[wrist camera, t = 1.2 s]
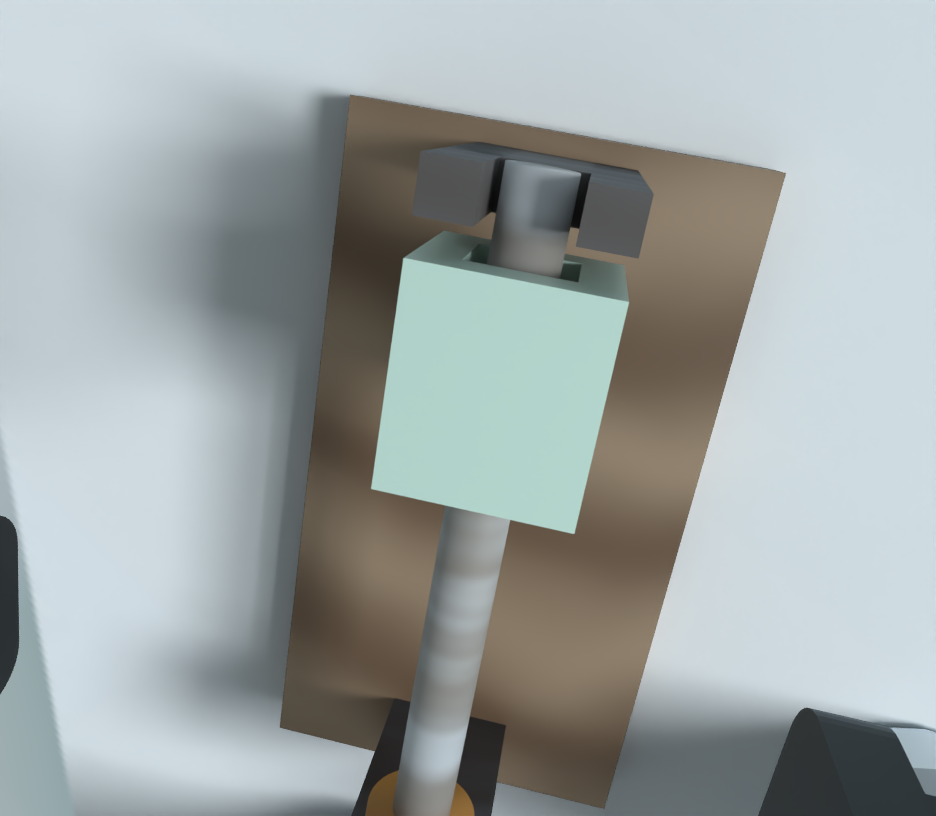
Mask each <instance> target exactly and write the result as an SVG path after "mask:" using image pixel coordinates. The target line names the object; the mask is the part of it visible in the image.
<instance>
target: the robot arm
mask: <svg viewBox="0 0 936 816" xmlns="http://www.w3.org/2000/svg"><path fill="white" fill-rule="evenodd" d="M18 606H19V605H18V541H17V533H16V529H15V527H14V525H13V523H12V522H11V521H10V520H9V519H7V518H6V517H3V516H0V694H1V692H2V691H3V689H4V687H5V686H6V684H7V682H8V680H9V678H10V676H11V673H12V671H13V668H14V666H15V662H16V658H17V655H18V648H19V611H18V610H19V607H18ZM758 816H936V796H933V795H928V794H925V792H924V790H923V788H922V786H921V784H920V782H919V780H918V778H917V776H916V774H915V771H914V769H913V767H912V765H911V763H910V761H909V759H908V757H907V755H906V753H905V751H904V749H903V746H902V744H901V742H900V740H899V738H898V737H897V735H896V733H895V732H894V731H893V730H892V729H891V728H889V727H887V726H883V725H878V724H874V723H870V722H866V721H861V720H857V719H853V718H849V717H844V716H840V715H836V714H832V713H827V712H823V711H819V710H815V709H810V708H804V709H802V710H801V711H800V712H799V713H798V714H797V716H796V717H795V719H794V721H793V723H792V725H791V728H790V730H789V733H788V736H787V739H786V741H785V744H784V747H783V749H782V752H781V755H780V758H779V760H778V763H777V766H776V769H775V771H774V774H773V777H772V780H771V782H770V785H769V788H768V790H767V793H766V796H765V799H764V801H763V804H762V807H761V810H760V812H759V815H758Z"/></svg>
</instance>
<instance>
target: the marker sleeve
mask: <svg viewBox="0 0 936 816" xmlns="http://www.w3.org/2000/svg"><path fill="white" fill-rule="evenodd" d="M490 245H491V239H486V238H480V237H475V236H470V235H465V234H460V233H454V232H449V231H443V232H441V233H440V234H438V235H437V236H435V237H434V238H432V239H431V240H429V241H428V242H426V243H425V244H423V245H422V246H420V247H419V248H417V249H416V250H414V251H413V252H411V253H410V254H409V255H407V256H406V257H404V258H403V265H402V272H401V279H400V286H399V294H398V301H397V308H396V315H395V322H394V329H393V336H392V343H391V351H390V358H389V365H388V372H387V379H386V386H385V393H384V400H383V408H382V415H381V422H380V429H379V436H378V443H377V450H376V457H375V465H374V472H373V479H372V486H371V489H374V490H378V491H383V492H387V493H392V494H396V495H401V496H405V497H410V498H414V499H419V500H423V501H428V502H432V503H437V504H441V505H446V506H450V507H455V508H459V509H464V510H468V511H473V512H477V513H482V514H486V515H491V516H495V517H500V518H504V519H509V520H513V521H518V522H522V523H527V524H531V525H536V526H540V527H545V528H549V529H554V530H558V531H563V532H567V533H572V534H574V533H575V529H576V525H577V521H578V516H579V512H580V508H581V504H582V499H583V495H584V491H585V487H586V483H587V478H588V474H589V470H590V466H591V461H592V457H593V453H594V449H595V444H596V440H597V436H598V432H599V428H600V423H601V419H602V415H603V411H604V406H605V402H606V398H607V394H608V389H609V385H610V381H611V377H612V373H613V368H614V364H615V360H616V356H617V351H618V347H619V343H620V339H621V334H622V330H623V326H624V322H625V317H626V313H627V309H628V305H629V297H628V289H627V281H626V274H625V266H624V265H621V264H616V263H610V262H605V261H600V260H595V259H590V258H584V257H579V256H574V255H569V254H565V256H564V261H563V266H562V271H561V275H560V279H558V278H553V277H548V276H543V275H537V274H532V273H527V272H522V271H517V270H512V269H507V268H502V267H496V266H491V265H487V262H488V256H489V251H490Z"/></svg>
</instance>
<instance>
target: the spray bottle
mask: <svg viewBox="0 0 936 816" xmlns="http://www.w3.org/2000/svg"><path fill="white" fill-rule="evenodd" d="M891 729H892V730H893V731H894V732H895V733H896V735H897V737H898V738H899V740H900V742H901V744H902V746H903V749H904V751H905V753H906V755H907V757H908V759H909V761H910V763H911V765H912V767H913V769H914V771H915V774H916V776H917V778H918V780H919V782H920V784H921V786H922V788H923V790H924V792H925V794H928V795H933V796H936V732H933V731H930V730H927V729H914V728H895V727H892V728H891Z"/></svg>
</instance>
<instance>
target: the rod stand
mask: <svg viewBox="0 0 936 816" xmlns="http://www.w3.org/2000/svg"><path fill="white" fill-rule="evenodd" d="M785 175H786V173H783V172H780V171H776V170H771V169H766V168H760V167H754V166H749V165H743V164H738V163H732V162H726V161H721V160H715V159H710V158H704V157H699V156H693V155H687V154H682V153H676V152H671V151H665V150H660V149H654V148H648V147H643V146H637V145H632V144H626V143H620V142H615V141H609V140H604V139H598V138H593V137H587V136H581V135H576V134H570V133H565V132H559V131H554V130H548V129H542V128H537V127H531V126H526V125H520V124H514V123H509V122H503V121H498V120H492V119H487V118H481V117H475V116H470V115H464V114H459V113H453V112H448V111H442V110H436V109H431V108H425V107H420V106H414V105H408V104H403V103H397V102H392V101H386V100H381V99H375V98H369V97H363V96H354V95H350V101H349V110H348V119H347V128H346V137H345V146H344V155H343V164H342V173H341V182H340V191H339V200H338V209H337V218H336V227H335V236H334V245H333V254H332V263H331V272H330V281H329V290H328V299H327V308H326V317H325V326H324V335H323V344H322V353H321V362H320V371H319V380H318V389H317V398H316V407H315V416H314V425H313V434H312V443H311V452H310V461H309V470H308V479H307V488H306V497H305V506H304V515H303V524H302V533H301V542H300V551H299V560H298V569H297V578H296V587H295V596H294V605H293V614H292V623H291V632H290V641H289V650H288V659H287V668H286V677H285V686H284V695H283V704H282V713H281V722H280V728H284V729H288V730H292V731H296V732H300V733H304V734H308V735H312V736H316V737H320V738H324V739H328V740H332V741H336V742H340V743H344V744H348V745H352V746H356V747H360V748H364V749H368V750H372V751H375V753H374V756H373V759H372V761H371V764H370V767H369V770H368V772H367V775H366V778H365V780H364V783H363V786H362V789H361V791H360V794H359V797H358V799H357V802H356V805H355V808H354V810H353V813H352V816H491V813H492V807H493V801H494V795H495V789H496V783H497V782H499V783H503V784H507V785H511V786H515V787H519V788H523V789H527V790H531V791H535V792H539V793H543V794H547V795H551V796H555V797H559V798H563V799H567V800H571V801H575V802H579V803H583V804H587V805H591V806H595V807H599V808H603V809H604V808H605V804H606V801H607V797H608V794H609V790H610V787H611V783H612V780H613V776H614V773H615V769H616V766H617V762H618V759H619V755H620V752H621V748H622V745H623V741H624V738H625V734H626V731H627V727H628V724H629V720H630V717H631V713H632V710H633V706H634V703H635V699H636V696H637V692H638V689H639V685H640V682H641V678H642V675H643V671H644V668H645V664H646V661H647V657H648V654H649V650H650V647H651V643H652V640H653V636H654V633H655V629H656V626H657V622H658V619H659V615H660V612H661V608H662V605H663V601H664V598H665V594H666V591H667V587H668V584H669V580H670V577H671V573H672V570H673V566H674V563H675V559H676V556H677V552H678V549H679V545H680V542H681V539H682V535H683V532H684V528H685V525H686V521H687V518H688V514H689V511H690V507H691V504H692V500H693V497H694V493H695V490H696V486H697V483H698V479H699V476H700V472H701V469H702V465H703V462H704V458H705V455H706V451H707V448H708V444H709V441H710V437H711V434H712V430H713V427H714V423H715V420H716V416H717V413H718V409H719V406H720V402H721V399H722V395H723V392H724V388H725V385H726V381H727V378H728V374H729V371H730V367H731V364H732V360H733V357H734V353H735V350H736V346H737V343H738V339H739V336H740V332H741V329H742V325H743V322H744V318H745V315H746V311H747V308H748V304H749V301H750V297H751V294H752V290H753V287H754V283H755V280H756V276H757V273H758V269H759V266H760V262H761V259H762V255H763V252H764V248H765V245H766V241H767V238H768V234H769V231H770V227H771V224H772V220H773V217H774V213H775V210H776V206H777V203H778V199H779V196H780V192H781V189H782V185H783V182H784V178H785ZM443 231H449V232H454V233H460V234H465V235H470V236H475V237H480V238H486V239H491V245H490V251H489V256H488V262H487V265H491V266H496V267H502V268H507V269H512V270H517V271H522V272H527V273H532V274H537V275H543V276H548V277H553V278H558V279H560V275H561V271H562V266H563V261H564V256H565V254H569V255H574V256H579V257H584V258H590V259H595V260H600V261H605V262H610V263H616V264H621V265H624V266H625V274H626V281H627V289H628V297H629V305H628V309H627V313H626V317H625V322H624V326H623V330H622V334H621V339H620V343H619V347H618V351H617V356H616V360H615V364H614V368H613V373H612V377H611V381H610V385H609V389H608V394H607V398H606V402H605V406H604V411H603V415H602V419H601V423H600V428H599V432H598V436H597V440H596V444H595V449H594V453H593V457H592V461H591V466H590V470H589V474H588V478H587V483H586V487H585V491H584V495H583V499H582V504H581V508H580V512H579V516H578V521H577V525H576V529H575V533H574V534H572V533H567V532H563V531H558V530H554V529H549V528H545V527H540V526H536V525H531V524H527V523H522V522H518V521H513V520H509V519H504V518H500V517H495V516H491V515H486V514H482V513H477V512H473V511H468V510H464V509H459V508H455V507H450V506H446V505H441V504H437V503H432V502H428V501H423V500H419V499H414V498H410V497H405V496H401V495H396V494H392V493H387V492H383V491H378V490H374V489H371V486H372V479H373V472H374V465H375V457H376V450H377V443H378V436H379V429H380V422H381V415H382V408H383V400H384V393H385V386H386V379H387V372H388V365H389V358H390V351H391V343H392V336H393V329H394V322H395V315H396V308H397V301H398V294H399V286H400V279H401V272H402V265H403V258H404V257H406V256H407V255H409V254H410V253H411V252H413V251H414V250H416V249H417V248H419V247H420V246H422V245H423V244H425V243H426V242H428V241H429V240H431V239H432V238H434V237H435V236H437V235H438V234H440V233H441V232H443Z"/></svg>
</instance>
